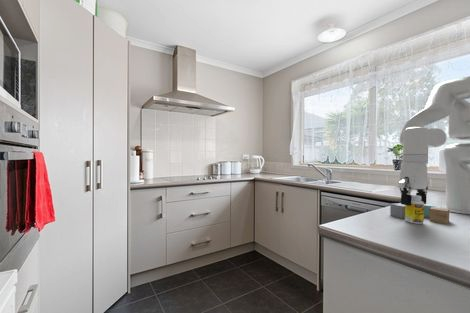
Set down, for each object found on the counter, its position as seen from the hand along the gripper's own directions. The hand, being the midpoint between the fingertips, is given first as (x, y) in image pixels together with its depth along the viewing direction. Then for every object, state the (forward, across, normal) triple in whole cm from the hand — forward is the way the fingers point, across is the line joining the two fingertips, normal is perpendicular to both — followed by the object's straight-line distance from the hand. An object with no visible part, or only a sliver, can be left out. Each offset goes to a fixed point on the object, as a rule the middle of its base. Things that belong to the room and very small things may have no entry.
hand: (413, 204), depth 84 cm
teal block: (+7, -16, -3) cm, 17 cm away
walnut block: (+7, -12, +3) cm, 14 cm away
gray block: (+7, -5, -7) cm, 11 cm away
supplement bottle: (+7, -1, 0) cm, 7 cm away
